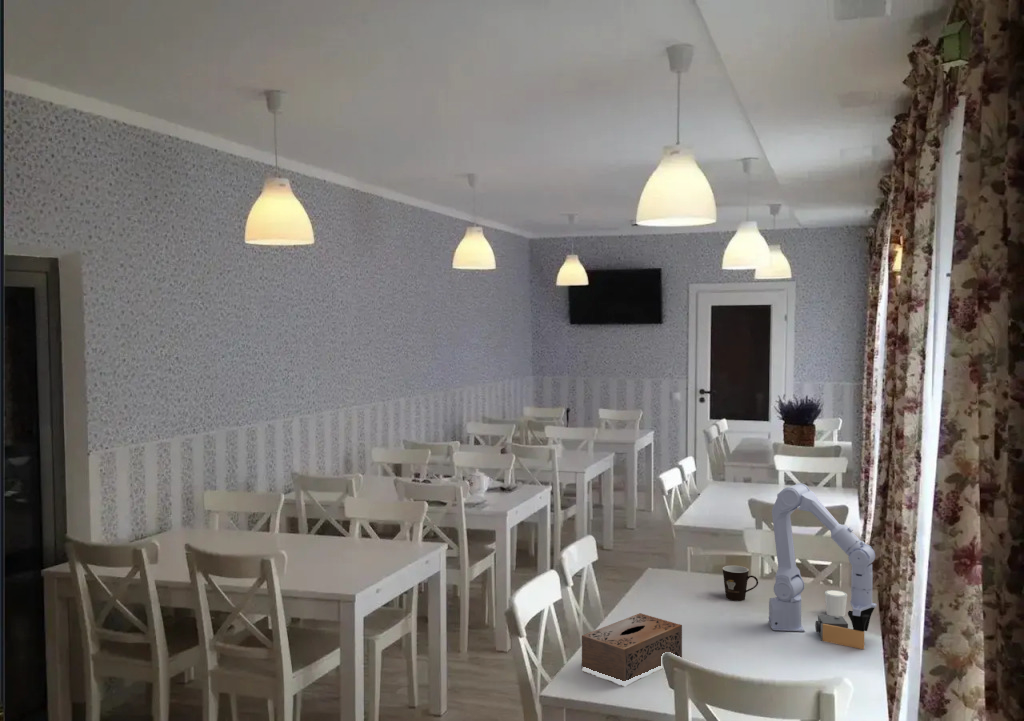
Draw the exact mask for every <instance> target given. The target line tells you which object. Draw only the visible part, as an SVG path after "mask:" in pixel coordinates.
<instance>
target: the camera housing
mask: <svg viewBox="0 0 1024 721" xmlns="http://www.w3.org/2000/svg"><path fill="white" fill-rule="evenodd" d="M821 623H823V624H828V625H833V626H838V627H843V628H848V629H849V624H848V622H847V621H846V619H845V618H844V617H842V616H829V615H819V614H818V615H817V620H815V623H814V626H815V632H817V633H818V634H819V636H820V637H821Z"/></svg>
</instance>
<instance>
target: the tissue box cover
mask: <svg viewBox="0 0 1024 721" xmlns="http://www.w3.org/2000/svg"><path fill="white" fill-rule="evenodd" d="M665 652H671V653H673V654H675V655H677V656H680V657H682V658H683V625H682V624H679V623H676V622H673V621H672V622H671V621H668V620H666V619H662V618H659V617H655V616H652V615H648V614H644V613H636V614H635V615H632V616H629V617H626V618H624V619H621V620H618V621H617V622H614V623H611V624H608V625H605V626H603V627H601V628H598V629H595V630H593V631H590V632H587V633H585V634H582V635H581V667H582V666H583V667H586V668H589V669H591V670H593V671H597V672H599V673H602V674H605V675H608V676H611V677H614V678H616V679H620V680H622V681H626V680H629V679H631V678H633V677H635V676H638V675H641V674H642V673H645V672H648V671H649V670H651V669H654V668H656V667H658V666H661V656H662V654H663V653H665Z"/></svg>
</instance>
